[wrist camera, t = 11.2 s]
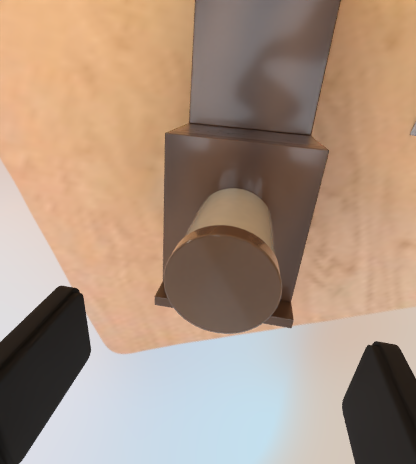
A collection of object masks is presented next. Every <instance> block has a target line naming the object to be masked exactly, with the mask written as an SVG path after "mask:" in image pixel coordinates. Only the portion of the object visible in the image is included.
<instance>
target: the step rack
mask: <svg viewBox="0 0 416 464" xmlns="http://www.w3.org/2000/svg"><path fill="white" fill-rule="evenodd" d="M340 1H341V0H195V15H194V35H193V56H192V76H191V96H190V117H189V124H187V125H184V126H182V127H179V128H177V129H174V130H172V131H169V132H167V133H165V175H164V238H163V282H162V284H161V286H160V288H159V290H158V291H157V293H156V295H155V305H160V306H165V307H171V308H173V306H172V305H171V303H170V301H169V299H168V297H167V295H166V292H165V288H164V270H165V266H166V264H167V261H168V259H169V257H170V256H171V254H172V252H173V250H174V249H175V247H176V246H177V244H178V243H179V242H180V241H181V240H182V239H183V238H184V236H185V234H186V232H187V231H188V229H189V227H190V225H191V223H192V221H193V219H194V217H195V216H196V214H197V212H198V210H199V208H200V206H201V205H202V203H203V202H204V201H205V200H206V199H207V198H208V197H209V196H210V195H212V194H213V193H215V192H217V191H220V190H223V189H229V188H238V189H243V190H247V191H249V192H251V193H253V194H255V195H257V196H258V197H259V198H260V199H261V200H262V201H263V202H264V203H265V204H266V206H267V207H268V209H269V211H270V214H271V217H272V224H273V234H274V244H275V254H276V258H277V260H278V263H279V267H280V272H281V280H282V294H281V299H280V302H279V304H278V306H277V308H276V310H275V311H274V313H273V314H272V315H271V316H270V317H269V319H268V320H266V321H265V322H264V324H270V325H276V326H282V327H288V328H292V324H293V320H294V319H293V313H292V306H291V300H292V296H293V292H294V288H295V284H296V280H297V276H298V272H299V268H300V264H301V260H302V256H303V252H304V248H305V244H306V240H307V236H308V232H309V228H310V224H311V220H312V216H313V213H314V209H315V205H316V201H317V197H318V193H319V189H320V185H321V181H322V177H323V173H324V169H325V165H326V161H327V157H328V153H329V150H328V149H327V148H325V147H324V146H323V145H322V144H320V143H319V142H318V141H317V140H315V139H314V138H313V137H312V136H310V135H311V132H312V128H313V123H314V119H315V114H316V110H317V105H318V101H319V96H320V92H321V87H322V83H323V78H324V73H325V69H326V64H327V60H328V55H329V51H330V46H331V42H332V37H333V33H334V28H335V24H336V19H337V15H338V10H339V6H340Z"/></svg>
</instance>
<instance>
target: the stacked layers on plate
mask: <svg viewBox="0 0 416 464" xmlns="http://www.w3.org/2000/svg"><path fill="white" fill-rule="evenodd" d="M410 135H414V136H416V123H415V125H414V127H413V129H412V131H411V133H410Z"/></svg>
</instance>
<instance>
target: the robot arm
mask: <svg viewBox="0 0 416 464" xmlns="http://www.w3.org/2000/svg"><path fill="white" fill-rule="evenodd" d="M90 352H91V346H90V340H89V332H88V325H87V319H86V312H85V305H84V298H83V295H82V294H81V293H80V292H79V290H78V289H77V288H72V287H66V286H59V287H57V288H56V289H55V290H54V291H53V292H52V293H51V294H50V295H49V296H48V297H47V298H46V299H45V300H44V301H43V302H42V303H41V304H39V305H38V306H37V307H36V308H35V309H34V310H33V311H32V312H31V313H30V314H29V315H28V316H27V317H26V318H25V319H24V320H23V321H22V322H21V323H20V324H19V325H18V326H17V327H16V328H15V329H14V330H13V331H11V332H10V333H9V334H8V335H7V336H6V337H5V338H4V339H3V340H2V341H1V342H0V464H19V463H20V462H21V461H22V459H23V458H24V457H25V455H26V454H27V452H28V451H29V449H30V448H31V446H32V445H33V443H34V442H35V440H36V438H37V437H38V435H39V434H40V432H41V431H42V429H43V428H44V426H45V425H46V423H47V422H48V420H49V419H50V417H51V415H52V414H53V412H54V411H55V409H56V408H57V406H58V405H59V403H60V402H61V400H62V399H63V397H64V395H65V394H66V392H67V391H68V389H69V388H70V386H71V385H72V383H73V382H74V380H75V379H76V377H77V375H78V374H79V372H80V371H81V369H82V368H83V366H84V365H85V363H86V362H87V360H88V358H89V356H90ZM342 409H343V415H344V418H345V423H346V427H347V431H348V435H349V440H350V444H351V448H352V452H353V456H354V460H355V464H416V378H415V376H414V374H413V373H412V371H411V369H410V367H409V365H408V363H407V361H406V359H405V357H404V355H403V353H402V352H401V350H400V348H399V347H398V346H397V345H394V344H388V343H383V342H377V341H376V342H374V343H373V344H372V345H368V346H367V347H366V349H365V351H364V353H363V356H362V358H361V360H360V363H359V365H358V367H357V369H356V372H355V374H354V376H353V378H352V381H351V383H350V385H349V388H348V390H347V392H346V394H345V397H344V399H343V403H342Z"/></svg>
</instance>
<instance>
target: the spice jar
mask: <svg viewBox="0 0 416 464" xmlns="http://www.w3.org/2000/svg"><path fill="white" fill-rule="evenodd" d="M164 288H165V292H166V295H167V297H168V299H169V301H170V303H171V305H172V306H173V308H174V309H175V310H176V311H177V312H178V314H180V315H181V316H182V317H183V318H184V319H185V320H187V321H188V322H190V323H191V324H193V325H195V326H197V327H199V328H201V329H204V330H207V331H211V332H215V333H224V334H232V333H240V332H245V331H248V330H251V329H253V328H256V327H258V326H259V325H261V324H262V323H264V322H265V321H266V320H268V319H269V317H270V316H271V315H272V314H273V313H274V311H275V310H276V308H277V306H278V304H279V302H280V299H281V294H282V280H281V272H280V267H279V263H278V260H277V258H276V254H275V244H274V234H273V224H272V217H271V214H270V211H269V209H268V207H267V206H266V204H265V203H264V202H263V201H262V200H261V199H260V198H259V197H258V196H257V195H255V194H253V193H251V192H249V191H247V190H243V189H238V188H229V189H223V190H220V191H217V192H215V193H213V194H212V195H210V196H209V197H208V198H207V199H206V200H205V201H204V202H203V203H202V205H201V206H200V208H199V210H198V212H197V214H196V216H195V217H194V219H193V221H192V223H191V225H190V227H189V229H188V231H187V232H186V234H185V236H184V238H183V239H182V240H181V241H180V242H179V243H178V244H177V246H176V247H175V249H174V250H173V252H172V254H171V256H170V257H169V259H168V261H167V264H166V266H165V270H164Z"/></svg>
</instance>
